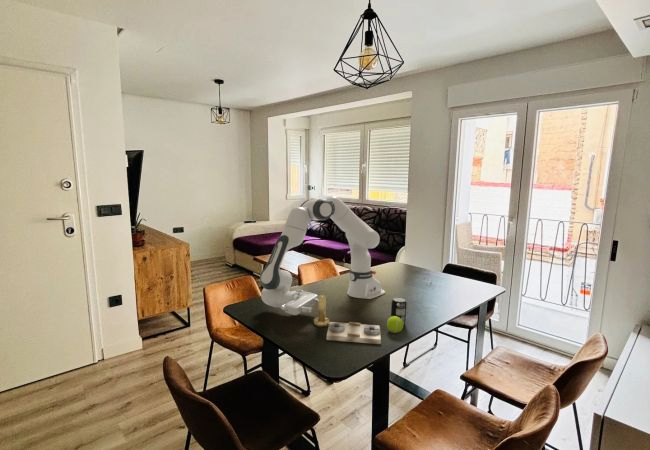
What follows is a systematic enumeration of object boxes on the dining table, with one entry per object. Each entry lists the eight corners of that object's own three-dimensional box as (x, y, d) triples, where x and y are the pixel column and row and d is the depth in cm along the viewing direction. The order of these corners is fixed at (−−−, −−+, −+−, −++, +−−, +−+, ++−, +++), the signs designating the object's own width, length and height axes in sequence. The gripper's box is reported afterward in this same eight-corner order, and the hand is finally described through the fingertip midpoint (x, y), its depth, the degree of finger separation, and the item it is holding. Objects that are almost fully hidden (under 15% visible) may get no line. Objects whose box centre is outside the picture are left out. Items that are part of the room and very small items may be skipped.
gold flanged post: (323, 319, 160) (324, 292, 158) (332, 324, 154) (333, 297, 152) (311, 322, 156) (311, 295, 154) (319, 328, 150) (320, 300, 148)
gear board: (379, 329, 150) (379, 321, 150) (380, 344, 138) (381, 335, 137) (329, 326, 153) (329, 318, 152) (326, 339, 140) (326, 331, 139)
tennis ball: (383, 331, 149) (384, 316, 148) (392, 327, 154) (393, 312, 153) (396, 337, 144) (397, 321, 143) (405, 332, 149) (406, 317, 148)
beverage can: (394, 320, 161) (396, 295, 160) (407, 324, 157) (409, 299, 155) (387, 324, 156) (389, 299, 154) (400, 328, 152) (402, 303, 150)
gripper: (278, 301, 152) (305, 307, 146) (302, 288, 170) (327, 293, 164) (278, 315, 153) (305, 321, 147) (302, 300, 171) (327, 306, 165)
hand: (317, 306), depth 155 cm, fingers open, 8 cm apart
